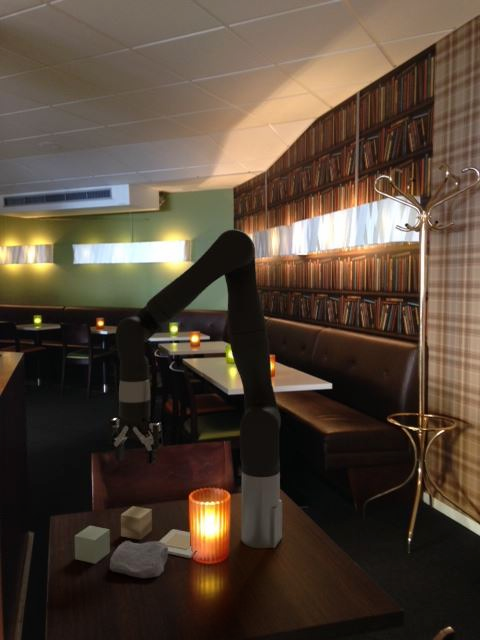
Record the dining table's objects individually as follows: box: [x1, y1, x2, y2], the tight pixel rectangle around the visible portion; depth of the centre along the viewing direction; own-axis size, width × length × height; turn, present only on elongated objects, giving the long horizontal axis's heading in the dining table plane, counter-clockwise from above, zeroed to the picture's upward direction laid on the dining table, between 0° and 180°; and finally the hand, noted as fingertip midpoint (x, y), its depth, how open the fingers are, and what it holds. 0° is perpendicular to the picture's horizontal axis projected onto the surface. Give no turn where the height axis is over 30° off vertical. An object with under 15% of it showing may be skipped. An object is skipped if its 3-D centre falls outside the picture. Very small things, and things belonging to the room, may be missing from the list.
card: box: [159, 528, 195, 559], centre depth 126 cm, size 10×10×1 cm
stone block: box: [109, 540, 169, 579], centre depth 116 cm, size 12×5×10 cm
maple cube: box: [120, 505, 153, 541], centre depth 132 cm, size 6×6×6 cm
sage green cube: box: [74, 525, 111, 564], centre depth 121 cm, size 6×6×6 cm
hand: (135, 462), depth 130 cm, fingers open, 8 cm apart
